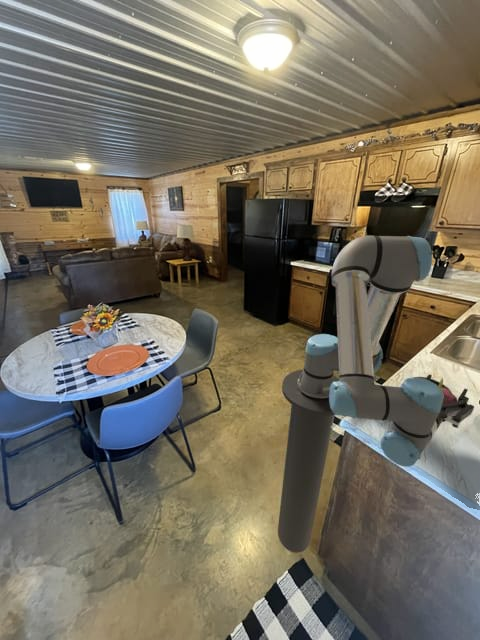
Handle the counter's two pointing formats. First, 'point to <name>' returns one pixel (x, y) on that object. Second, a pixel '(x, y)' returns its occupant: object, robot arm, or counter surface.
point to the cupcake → (447, 394)
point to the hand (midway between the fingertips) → (446, 385)
